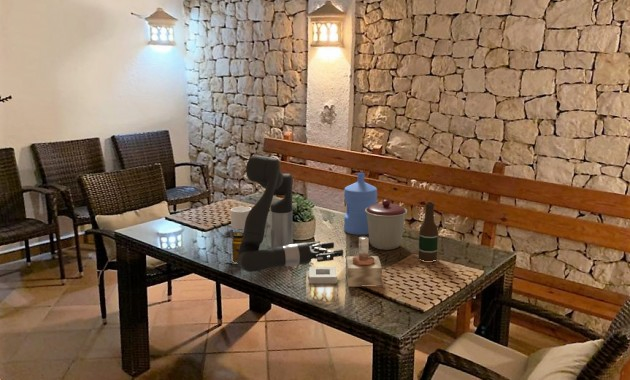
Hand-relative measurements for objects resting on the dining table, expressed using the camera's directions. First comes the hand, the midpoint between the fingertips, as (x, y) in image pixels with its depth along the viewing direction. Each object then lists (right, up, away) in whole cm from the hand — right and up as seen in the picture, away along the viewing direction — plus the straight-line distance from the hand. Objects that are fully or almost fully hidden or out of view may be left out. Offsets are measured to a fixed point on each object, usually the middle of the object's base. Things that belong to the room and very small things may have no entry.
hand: (338, 248), depth 191 cm
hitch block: (+10, -12, +6) cm, 17 cm away
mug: (-43, +2, +69) cm, 82 cm away
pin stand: (-5, -12, +8) cm, 16 cm away
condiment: (-39, -8, +26) cm, 48 cm away
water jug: (+13, +1, +65) cm, 66 cm away
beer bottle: (+38, -8, +26) cm, 46 cm away
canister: (+23, -4, +43) cm, 48 cm away
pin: (+10, -11, +6) cm, 16 cm away
